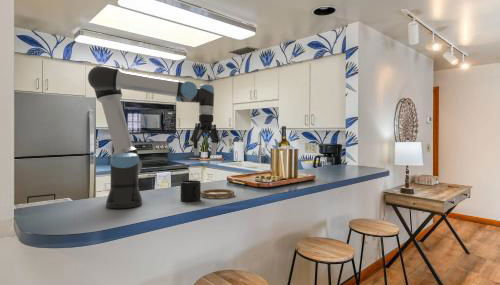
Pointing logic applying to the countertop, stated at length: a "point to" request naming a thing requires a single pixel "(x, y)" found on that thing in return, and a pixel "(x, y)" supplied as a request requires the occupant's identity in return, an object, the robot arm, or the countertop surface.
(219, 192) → the tray
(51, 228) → the countertop surface
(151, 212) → the countertop surface
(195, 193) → the mug
